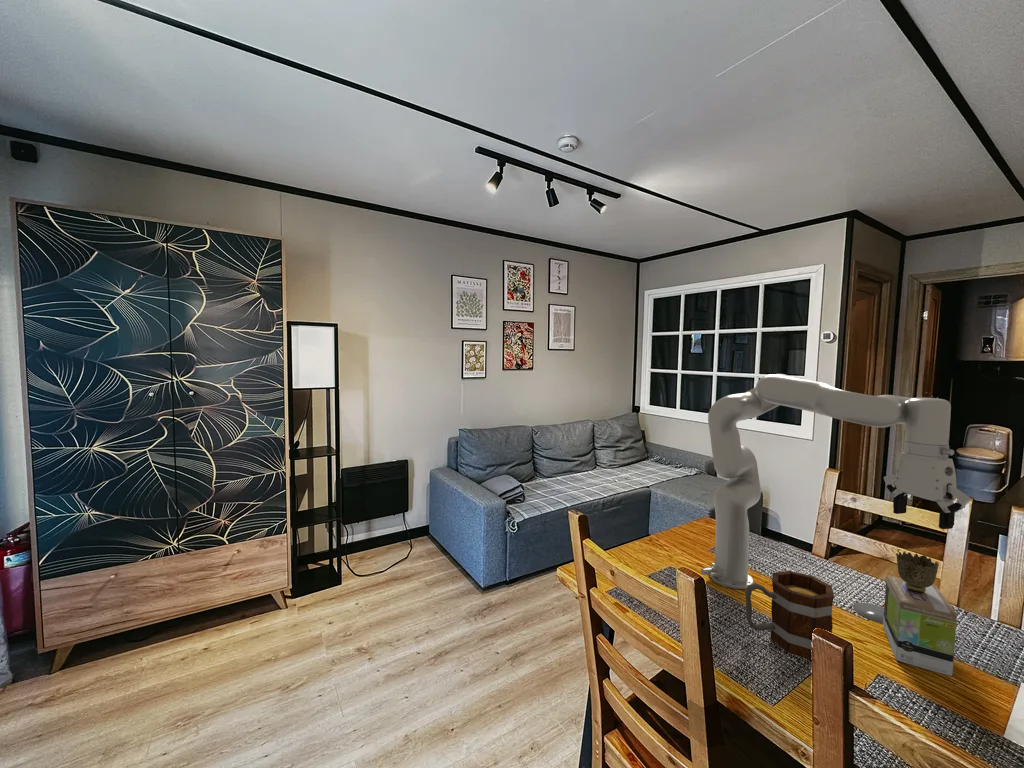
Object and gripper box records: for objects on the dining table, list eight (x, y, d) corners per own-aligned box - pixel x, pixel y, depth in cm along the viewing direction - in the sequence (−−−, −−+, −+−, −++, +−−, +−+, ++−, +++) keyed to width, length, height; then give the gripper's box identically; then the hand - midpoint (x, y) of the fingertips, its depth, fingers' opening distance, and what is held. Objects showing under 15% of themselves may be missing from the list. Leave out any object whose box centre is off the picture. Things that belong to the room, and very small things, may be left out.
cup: (945, 600, 99) (947, 567, 98) (908, 597, 100) (910, 564, 100) (921, 584, 106) (923, 552, 106) (887, 581, 108) (889, 550, 107)
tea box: (955, 678, 94) (958, 614, 93) (895, 661, 100) (898, 600, 99) (933, 640, 107) (937, 583, 106) (881, 627, 112) (884, 573, 111)
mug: (815, 628, 112) (817, 572, 111) (846, 664, 99) (848, 601, 98) (735, 620, 115) (736, 566, 114) (754, 654, 102) (756, 594, 101)
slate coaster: (879, 628, 112) (880, 625, 112) (843, 606, 122) (843, 604, 122) (910, 623, 114) (910, 621, 114) (872, 602, 124) (872, 600, 124)
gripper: (984, 457, 93) (979, 533, 94) (898, 442, 110) (895, 507, 111) (957, 459, 91) (953, 536, 92) (875, 443, 108) (871, 509, 109)
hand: (921, 520), depth 102 cm, fingers open, 9 cm apart
